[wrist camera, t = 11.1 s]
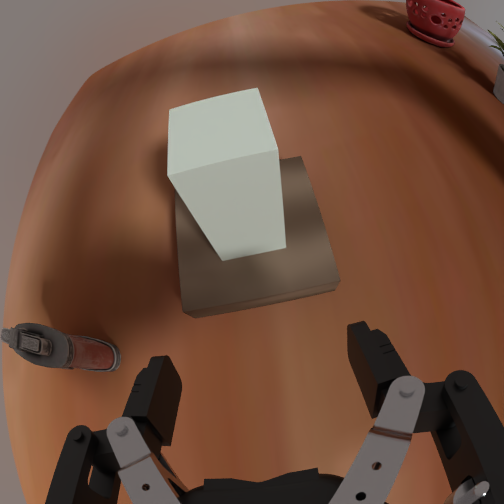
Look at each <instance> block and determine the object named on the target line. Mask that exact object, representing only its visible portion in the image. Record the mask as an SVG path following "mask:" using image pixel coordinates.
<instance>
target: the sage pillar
mask: <svg viewBox="0 0 504 504" xmlns="http://www.w3.org/2000/svg"><path fill="white" fill-rule="evenodd" d="M167 176H168V177H169V179H170V181H171V182H172V184H173V185H174V187H175V189H176V190H177V192H178V193H179V195H180V197H181V198H182V200H183V201H184V203H185V204H186V206H187V208H188V209H189V211H190V212H191V214H192V215H193V217H194V218H195V220H196V222H197V223H198V225H199V226H200V228H201V229H202V231H203V232H204V234H205V235H206V237H207V239H208V240H209V242H210V243H211V245H212V246H213V248H214V249H215V251H216V252H217V254H218V255H219V257H220V258H221V260H222V261H225V260H230V259H235V258H240V257H245V256H249V255H254V254H259V253H264V252H268V251H273V250H278V249H283V248H286V239H285V225H284V211H283V199H282V187H281V175H280V164H279V154H278V148H277V144H276V141H275V138H274V135H273V132H272V129H271V126H270V123H269V120H268V117H267V114H266V111H265V108H264V105H263V102H262V99H261V96H260V94H259V91H258V88H253V89H248V90H243V91H238V92H234V93H229V94H225V95H221V96H217V97H212V98H209V99H205V100H201V101H197V102H194V103H190V104H187V105H183V106H180V107H176V108H173V109H170V110H169V130H168V168H167Z"/></svg>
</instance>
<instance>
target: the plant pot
mask: <svg viewBox="0 0 504 504" xmlns="http://www.w3.org/2000/svg"><path fill="white" fill-rule="evenodd" d="M416 2H417V3H418V6H417V5H416ZM424 6H426V7H425V8H423V7H424ZM406 8H407V13H408V17H409V20H410V21H408V22H407V23H406V26H407V28H408V29H409V31H410V32H411V33H413V34H414V35H415V36H417V37H419V38H420V39H422V40H424V41H426V42H428V43H431V44H434V45H437V46H439V47H451V46H453V45H454V44H455V41H454V40H453V37H454V36H455V35H456V34H457V33H458V31H459V30H460V28H461V25H462V22H463V19H464V14H465V9H464V7H462V6H461V5H460V4H458V3H456V2H454V1H453V0H406ZM442 13H444V14H442ZM456 18H457V19H456ZM450 19H451V20H450Z"/></svg>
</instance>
